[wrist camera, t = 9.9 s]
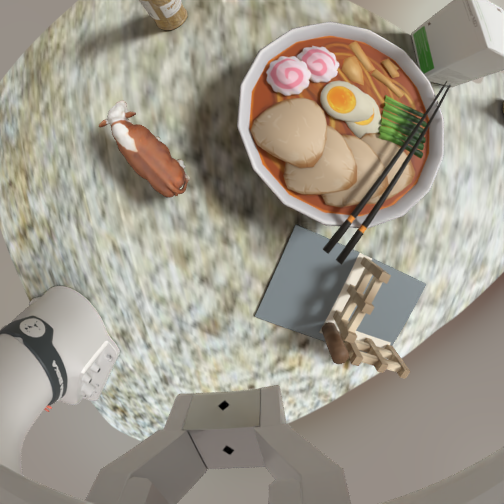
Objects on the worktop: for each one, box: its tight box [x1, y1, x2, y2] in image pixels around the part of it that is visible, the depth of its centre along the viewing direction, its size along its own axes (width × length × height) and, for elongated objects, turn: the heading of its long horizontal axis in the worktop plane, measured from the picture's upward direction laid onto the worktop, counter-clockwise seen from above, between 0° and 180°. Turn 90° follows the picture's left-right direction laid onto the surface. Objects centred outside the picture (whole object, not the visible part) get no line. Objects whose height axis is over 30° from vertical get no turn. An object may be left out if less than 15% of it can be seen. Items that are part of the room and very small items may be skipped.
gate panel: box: [333, 257, 391, 343], centre depth 33 cm, size 9×1×6 cm, turn 157°
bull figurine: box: [99, 100, 190, 197], centre depth 30 cm, size 4×13×8 cm, turn 37°
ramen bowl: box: [237, 22, 450, 265], centre depth 29 cm, size 25×23×8 cm
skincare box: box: [411, 0, 504, 87], centre depth 22 cm, size 8×7×16 cm
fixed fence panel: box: [340, 334, 410, 378], centre depth 35 cm, size 9×1×7 cm, turn 68°
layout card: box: [255, 225, 426, 353], centre depth 38 cm, size 13×21×1 cm, turn 68°
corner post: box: [322, 322, 349, 364], centre depth 35 cm, size 2×2×8 cm
